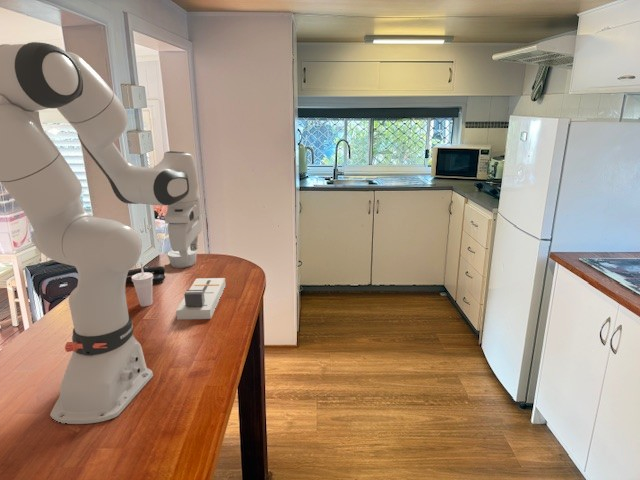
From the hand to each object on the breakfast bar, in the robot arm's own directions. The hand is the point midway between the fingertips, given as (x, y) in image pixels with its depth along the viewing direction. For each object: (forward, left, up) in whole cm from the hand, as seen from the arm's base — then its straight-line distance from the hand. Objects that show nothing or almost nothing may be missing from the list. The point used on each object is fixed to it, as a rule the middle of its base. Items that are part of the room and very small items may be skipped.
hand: (190, 255), depth 125 cm
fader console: (+9, 0, -19) cm, 21 cm away
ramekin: (+43, +16, -19) cm, 50 cm away
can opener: (+26, +27, -20) cm, 42 cm away
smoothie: (+8, +18, -19) cm, 27 cm away
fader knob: (0, 0, -16) cm, 16 cm away
